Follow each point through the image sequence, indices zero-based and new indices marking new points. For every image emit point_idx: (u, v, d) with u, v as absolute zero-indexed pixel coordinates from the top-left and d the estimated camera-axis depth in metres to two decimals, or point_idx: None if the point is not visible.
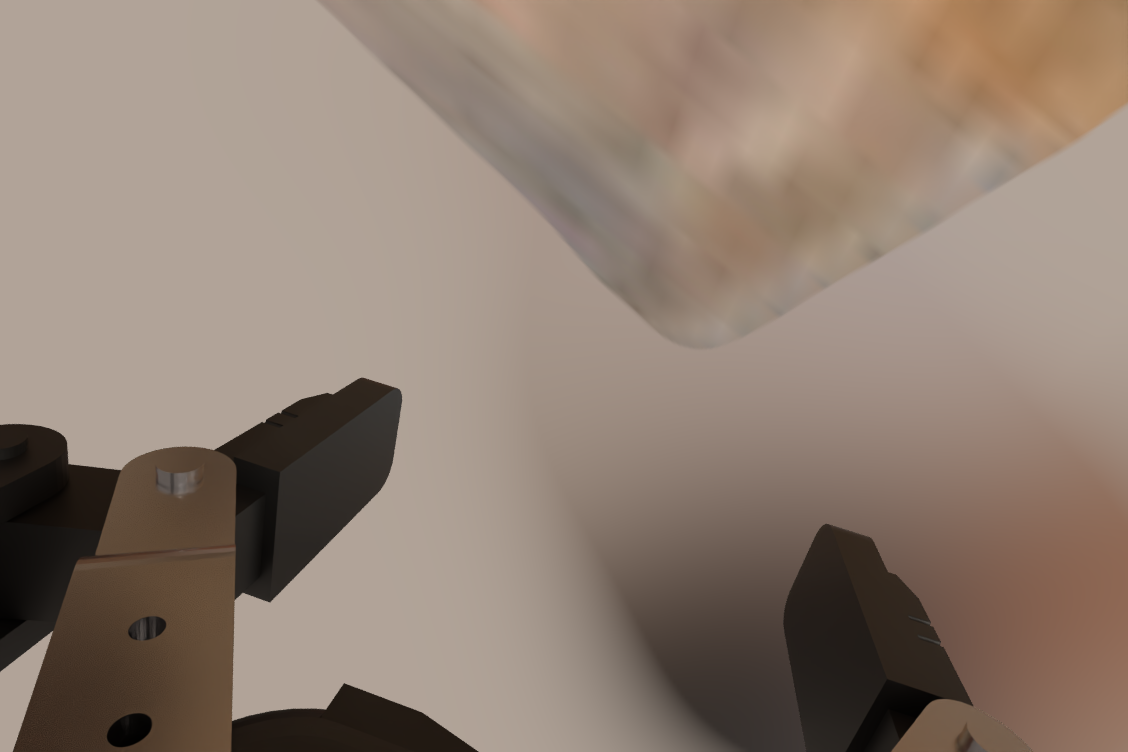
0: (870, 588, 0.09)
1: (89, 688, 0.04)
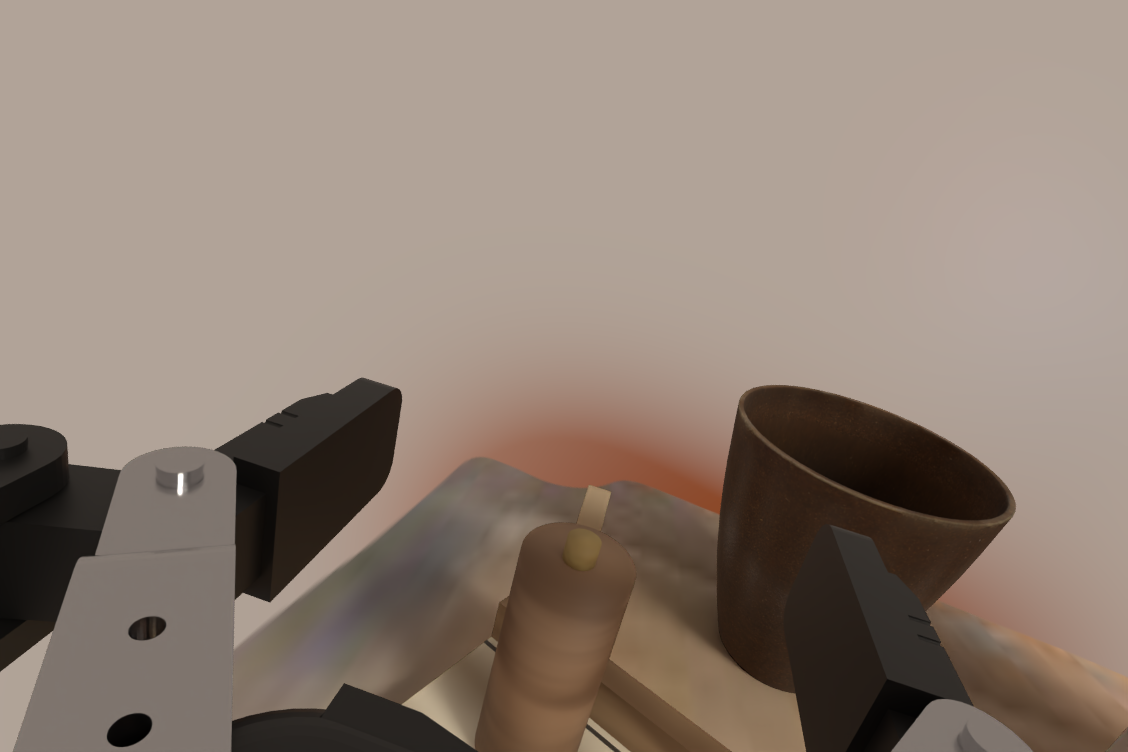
0: (870, 588, 0.09)
1: (90, 688, 0.04)
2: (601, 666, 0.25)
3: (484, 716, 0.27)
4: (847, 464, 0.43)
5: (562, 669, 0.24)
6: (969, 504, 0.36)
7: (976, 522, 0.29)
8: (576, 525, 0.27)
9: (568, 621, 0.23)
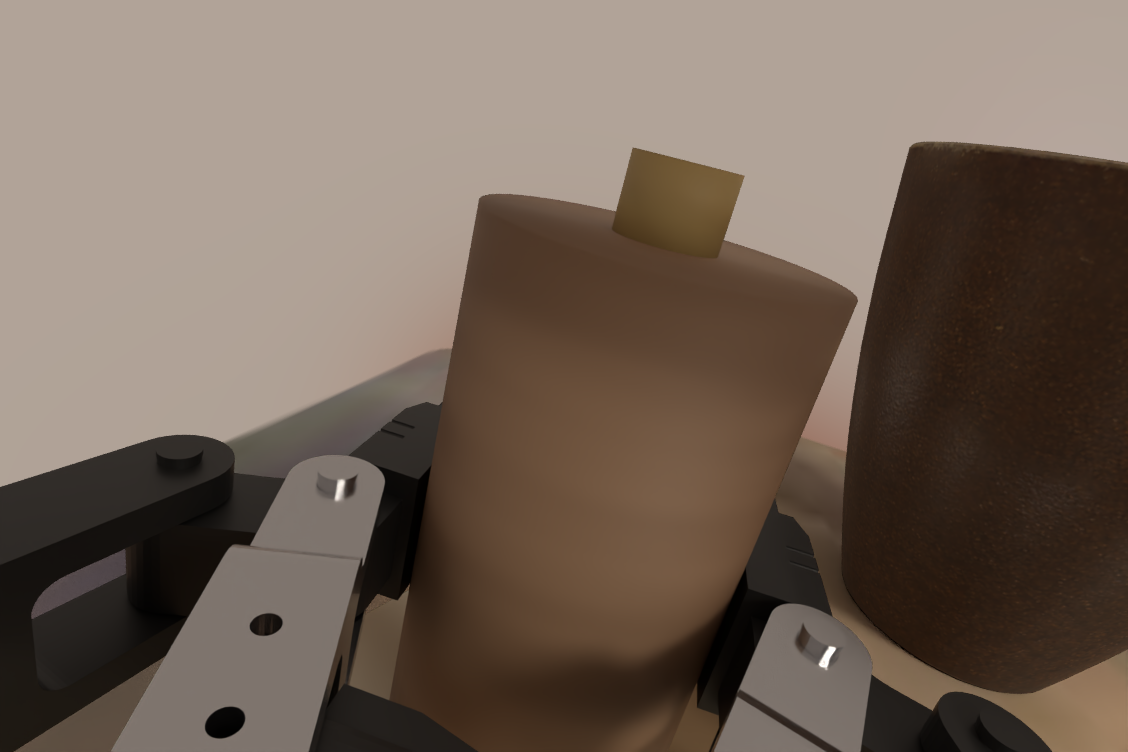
0: None
1: (205, 672, 0.05)
2: (732, 585, 0.08)
3: None
4: None
5: (615, 580, 0.07)
6: None
7: None
8: None
9: (648, 383, 0.06)
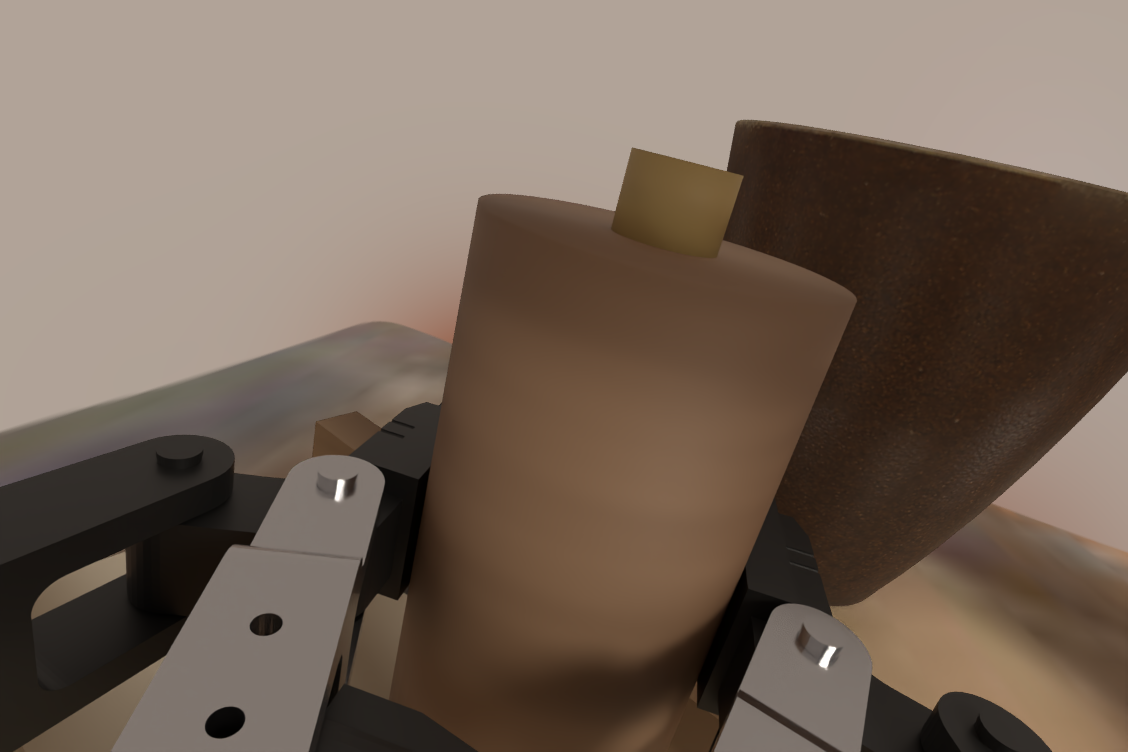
0: None
1: (204, 672, 0.05)
2: (731, 584, 0.08)
3: None
4: None
5: (614, 579, 0.07)
6: None
7: None
8: None
9: (647, 383, 0.06)
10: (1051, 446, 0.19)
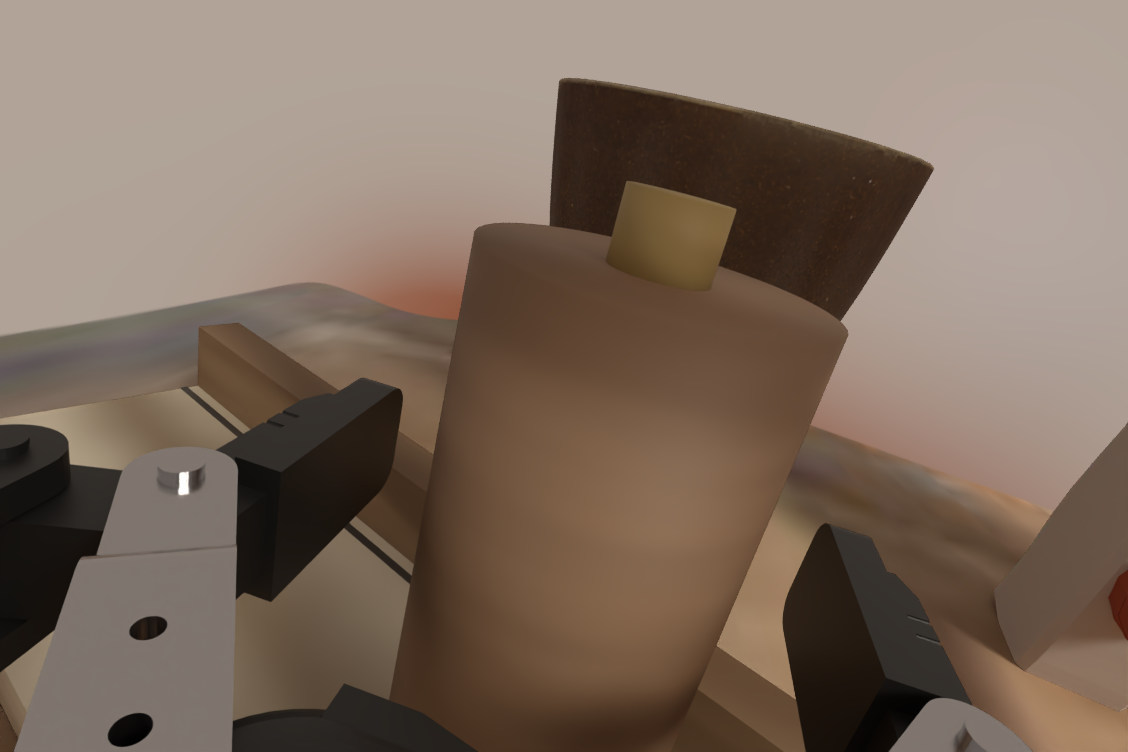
0: (869, 587, 0.09)
1: (90, 688, 0.04)
2: (724, 612, 0.08)
3: None
4: None
5: (609, 610, 0.07)
6: None
7: None
8: None
9: (639, 421, 0.06)
10: None
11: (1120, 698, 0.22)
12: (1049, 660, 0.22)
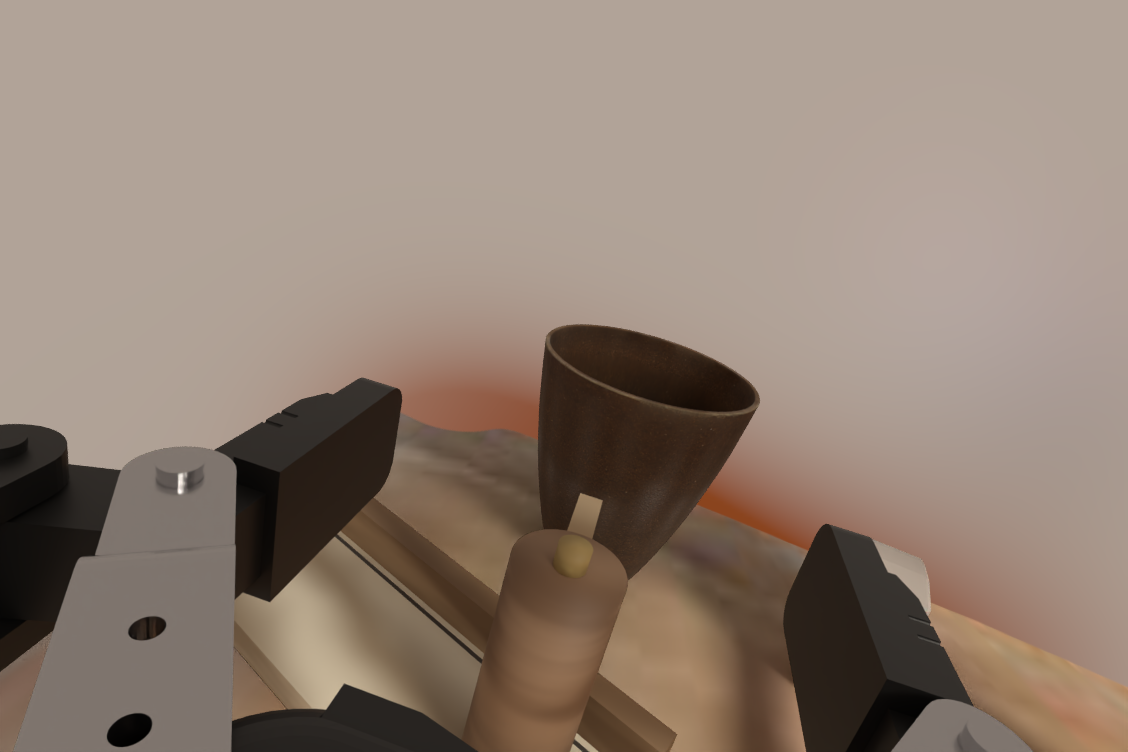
0: (870, 588, 0.09)
1: (89, 688, 0.04)
2: (590, 677, 0.25)
3: (469, 729, 0.27)
4: (664, 397, 0.49)
5: (550, 679, 0.23)
6: None
7: (703, 411, 0.36)
8: (567, 532, 0.27)
9: (558, 629, 0.23)
10: (684, 503, 0.40)
11: None
12: None
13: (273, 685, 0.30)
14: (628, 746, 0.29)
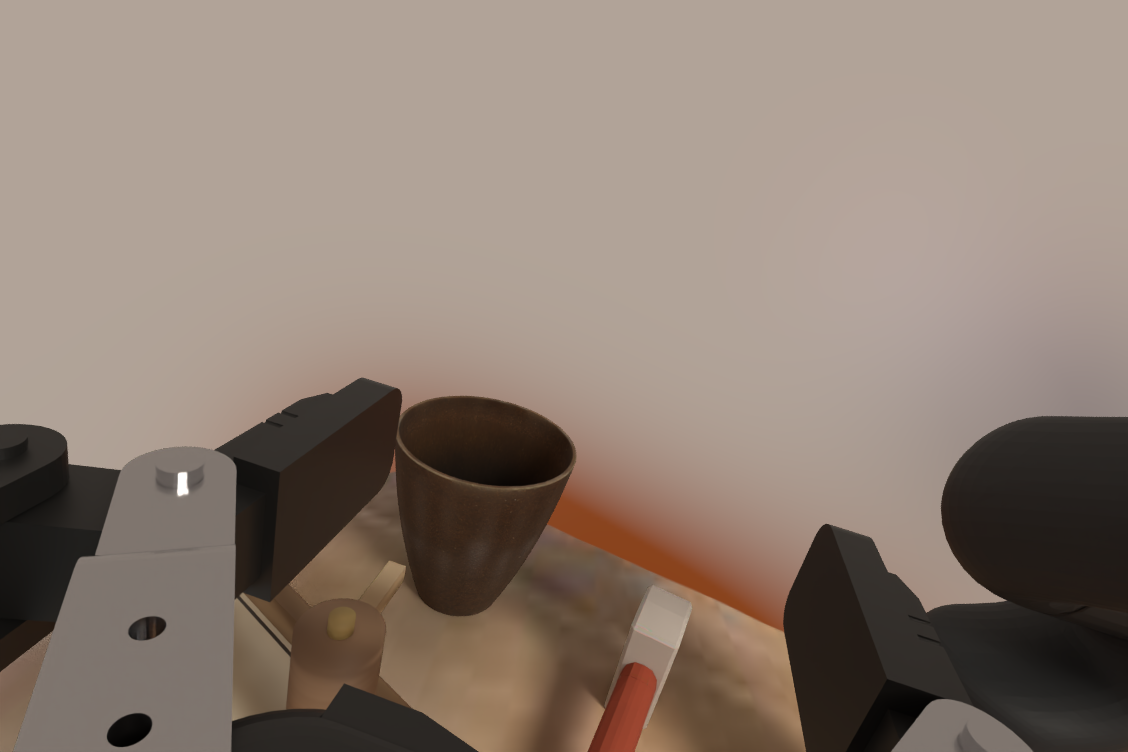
0: (870, 588, 0.09)
1: (89, 688, 0.04)
2: None
3: None
4: (521, 454, 0.58)
5: None
6: None
7: (505, 487, 0.44)
8: (352, 600, 0.36)
9: (319, 679, 0.32)
10: (509, 554, 0.49)
11: None
12: None
13: None
14: None
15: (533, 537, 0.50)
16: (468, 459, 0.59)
